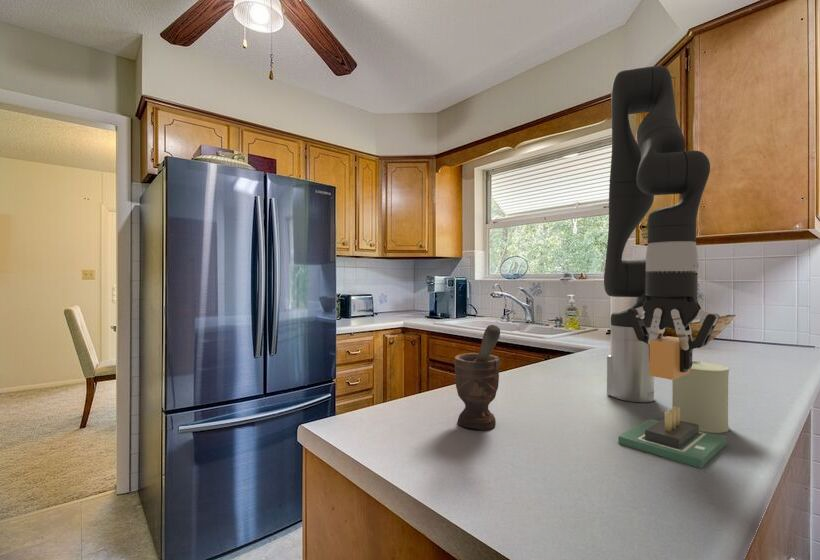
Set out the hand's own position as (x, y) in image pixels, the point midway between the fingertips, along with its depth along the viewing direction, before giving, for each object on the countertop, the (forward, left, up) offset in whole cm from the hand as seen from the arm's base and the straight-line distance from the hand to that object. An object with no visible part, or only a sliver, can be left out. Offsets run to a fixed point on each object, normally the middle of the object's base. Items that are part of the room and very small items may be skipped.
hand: (670, 368), depth 70 cm
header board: (0, 0, -13) cm, 13 cm away
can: (0, +15, -13) cm, 20 cm away
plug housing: (0, 0, -1) cm, 1 cm away
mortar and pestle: (-26, -19, -13) cm, 34 cm away
